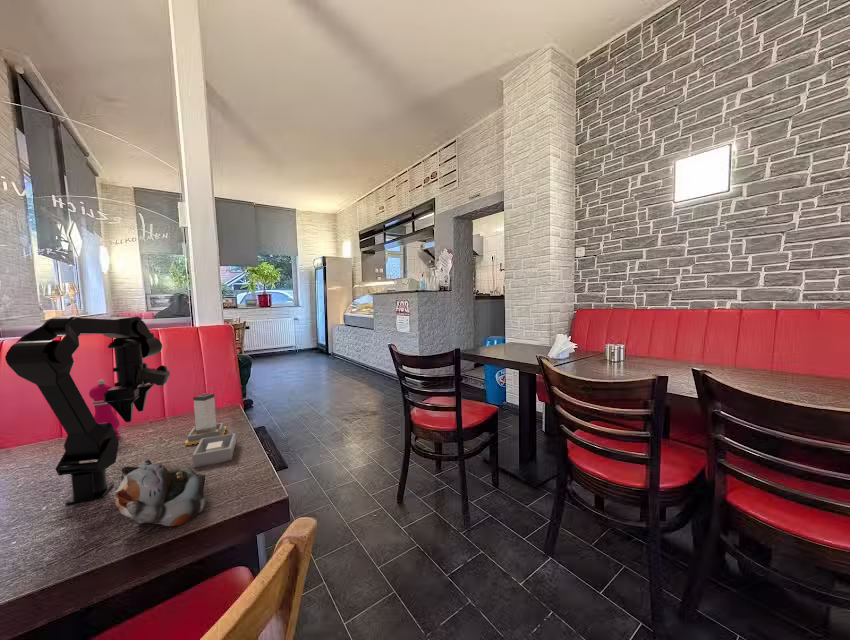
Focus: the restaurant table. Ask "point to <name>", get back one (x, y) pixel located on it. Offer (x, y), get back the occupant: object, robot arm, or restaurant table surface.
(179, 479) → the lucky cat figurine
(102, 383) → the pepper mill
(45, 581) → the restaurant table surface
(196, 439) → the square tray
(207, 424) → the grey rectangular block
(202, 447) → the light gray open tray
